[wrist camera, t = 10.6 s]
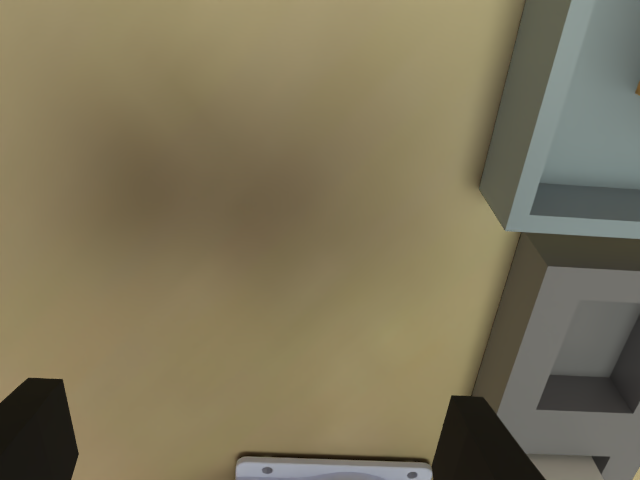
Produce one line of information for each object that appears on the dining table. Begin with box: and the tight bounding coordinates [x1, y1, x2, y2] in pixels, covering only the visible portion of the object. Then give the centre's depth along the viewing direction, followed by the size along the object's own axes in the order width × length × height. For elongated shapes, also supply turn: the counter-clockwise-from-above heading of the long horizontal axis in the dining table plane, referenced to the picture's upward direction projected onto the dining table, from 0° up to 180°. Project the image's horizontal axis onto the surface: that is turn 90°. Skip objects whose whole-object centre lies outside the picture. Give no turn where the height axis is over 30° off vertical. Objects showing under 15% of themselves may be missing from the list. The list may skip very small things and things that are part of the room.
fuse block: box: [472, 232, 640, 480], centre depth 24 cm, size 7×16×2 cm, turn 175°
